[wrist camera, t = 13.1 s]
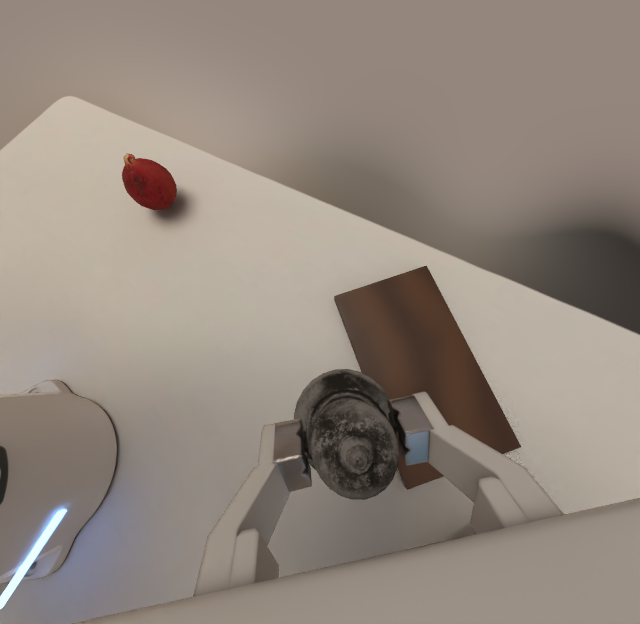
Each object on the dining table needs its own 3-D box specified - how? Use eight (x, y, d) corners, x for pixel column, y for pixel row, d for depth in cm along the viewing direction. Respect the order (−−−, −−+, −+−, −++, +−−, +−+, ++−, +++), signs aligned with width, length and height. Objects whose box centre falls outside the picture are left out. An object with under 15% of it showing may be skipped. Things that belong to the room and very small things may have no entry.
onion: (186, 219, 36) (147, 173, 28) (147, 224, 36) (97, 179, 28) (189, 187, 38) (152, 135, 30) (151, 191, 38) (105, 141, 30)
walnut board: (404, 486, 25) (407, 490, 24) (334, 299, 31) (334, 296, 30) (514, 445, 25) (521, 447, 25) (423, 269, 32) (426, 265, 31)
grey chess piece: (337, 483, 17) (348, 693, 5) (284, 408, 18) (200, 443, 7) (402, 422, 17) (535, 484, 6) (346, 356, 19) (367, 305, 7)
